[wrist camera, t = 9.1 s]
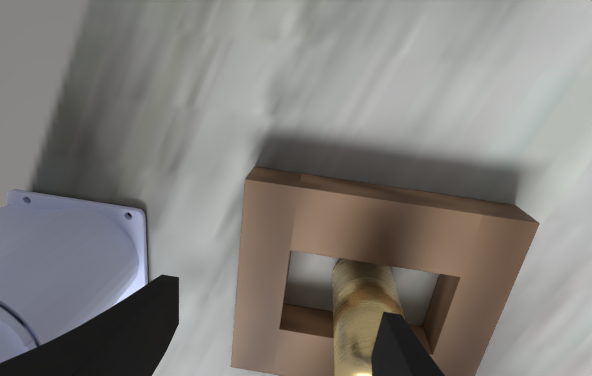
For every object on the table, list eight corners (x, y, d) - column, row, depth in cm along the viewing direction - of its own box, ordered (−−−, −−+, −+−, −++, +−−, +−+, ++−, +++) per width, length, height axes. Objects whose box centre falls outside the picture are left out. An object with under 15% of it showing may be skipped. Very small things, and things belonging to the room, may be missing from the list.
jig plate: (239, 339, 26) (230, 366, 23) (254, 166, 21) (244, 179, 19) (448, 374, 25) (461, 406, 23) (515, 205, 20) (539, 223, 18)
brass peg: (330, 298, 24) (332, 408, 16) (334, 249, 22) (337, 344, 15) (388, 303, 23) (416, 416, 16) (395, 253, 22) (429, 352, 15)
